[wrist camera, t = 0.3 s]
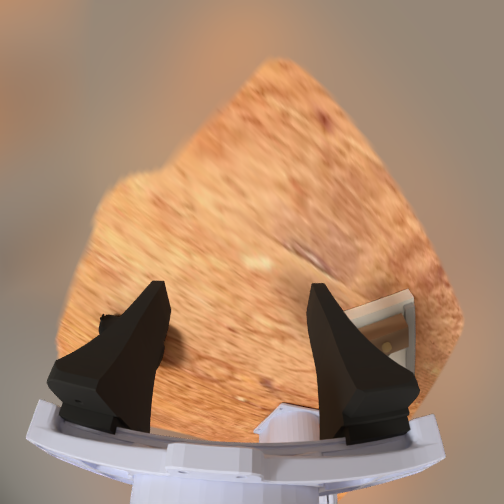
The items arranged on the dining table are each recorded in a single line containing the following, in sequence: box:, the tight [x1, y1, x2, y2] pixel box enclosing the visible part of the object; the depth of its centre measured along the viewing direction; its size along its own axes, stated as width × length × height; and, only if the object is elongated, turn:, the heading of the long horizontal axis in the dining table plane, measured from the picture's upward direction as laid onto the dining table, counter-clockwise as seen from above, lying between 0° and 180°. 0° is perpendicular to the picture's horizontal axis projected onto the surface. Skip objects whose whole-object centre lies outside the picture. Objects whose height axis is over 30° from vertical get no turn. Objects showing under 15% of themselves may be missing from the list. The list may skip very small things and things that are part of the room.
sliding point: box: [358, 313, 409, 355], centre depth 25 cm, size 3×5×2 cm, turn 112°
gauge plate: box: [344, 289, 416, 375], centre depth 28 cm, size 16×8×4 cm, turn 22°
